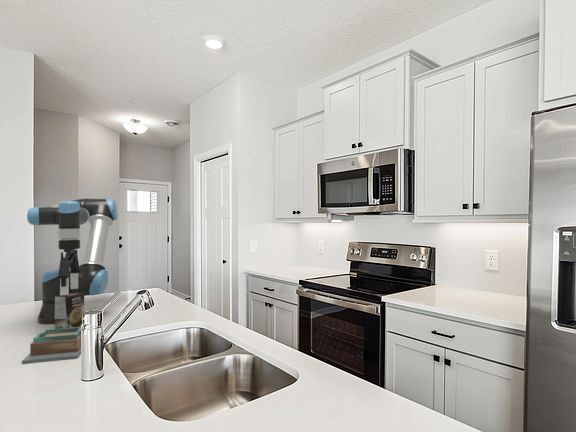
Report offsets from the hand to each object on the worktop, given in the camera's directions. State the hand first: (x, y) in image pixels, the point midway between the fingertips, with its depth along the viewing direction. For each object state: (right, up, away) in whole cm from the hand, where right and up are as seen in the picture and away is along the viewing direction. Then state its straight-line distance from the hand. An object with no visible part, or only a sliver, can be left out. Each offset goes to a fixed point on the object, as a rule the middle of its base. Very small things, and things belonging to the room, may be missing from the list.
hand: (69, 291), depth 149 cm
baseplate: (+8, -17, -18) cm, 26 cm away
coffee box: (0, -17, 0) cm, 17 cm away
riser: (+8, -17, -18) cm, 26 cm away
